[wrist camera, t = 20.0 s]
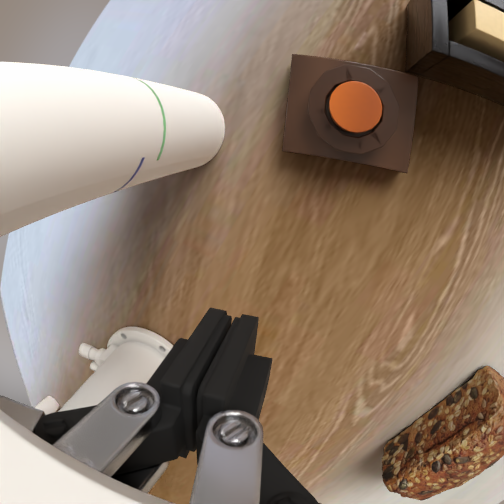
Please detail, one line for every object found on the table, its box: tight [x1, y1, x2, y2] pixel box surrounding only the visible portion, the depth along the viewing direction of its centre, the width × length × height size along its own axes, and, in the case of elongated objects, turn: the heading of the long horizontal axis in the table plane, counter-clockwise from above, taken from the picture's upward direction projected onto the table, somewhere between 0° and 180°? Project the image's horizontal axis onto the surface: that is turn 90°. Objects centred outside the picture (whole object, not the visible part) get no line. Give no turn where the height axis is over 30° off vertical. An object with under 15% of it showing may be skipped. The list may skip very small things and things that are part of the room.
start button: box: [329, 81, 382, 133], centre depth 19 cm, size 4×4×2 cm
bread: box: [382, 366, 504, 500], centre depth 27 cm, size 19×11×10 cm, turn 149°
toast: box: [448, 0, 504, 62], centre depth 14 cm, size 8×2×8 cm, turn 84°
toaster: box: [405, 0, 504, 106], centre depth 15 cm, size 13×7×8 cm, turn 84°
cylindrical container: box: [0, 62, 225, 237], centre depth 16 cm, size 7×7×25 cm
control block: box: [282, 54, 419, 173], centre depth 22 cm, size 10×8×4 cm
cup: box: [34, 396, 59, 415], centre depth 47 cm, size 5×5×12 cm
